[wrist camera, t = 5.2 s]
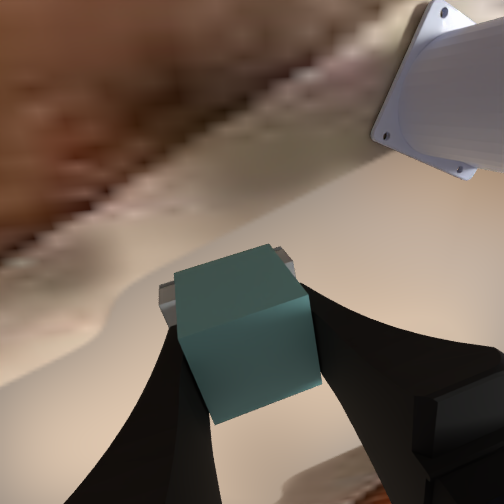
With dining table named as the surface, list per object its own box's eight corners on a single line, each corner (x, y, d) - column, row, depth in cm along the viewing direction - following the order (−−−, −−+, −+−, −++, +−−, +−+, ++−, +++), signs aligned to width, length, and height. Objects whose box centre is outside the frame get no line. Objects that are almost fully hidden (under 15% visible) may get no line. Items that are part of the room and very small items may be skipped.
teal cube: (268, 243, 13) (308, 294, 9) (284, 317, 15) (322, 383, 11) (173, 272, 12) (178, 339, 9) (202, 346, 14) (215, 425, 11)
